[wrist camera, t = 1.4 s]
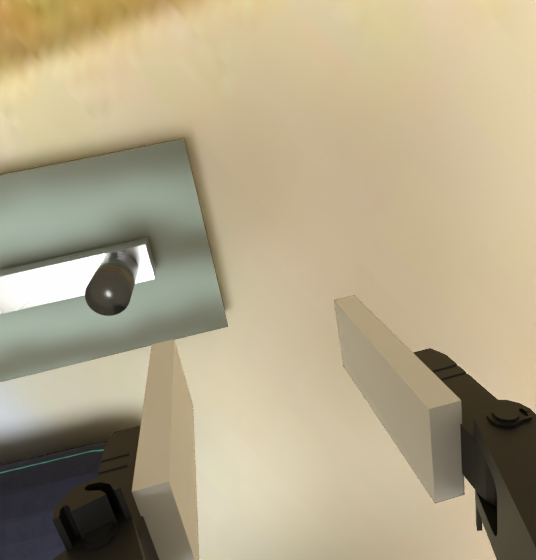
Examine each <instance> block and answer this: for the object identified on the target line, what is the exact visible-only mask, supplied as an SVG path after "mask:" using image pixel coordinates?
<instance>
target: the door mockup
mask: <svg viewBox="0 0 536 560" xmlns="http://www.w3.org/2000/svg"><path fill="white" fill-rule="evenodd" d="M143 238H148V242H149V245H150V249H151V253H152V256H153V260H154V263H155V267H156V275H155V279H152V280H148V281H143V282H139V283H135V286H134V289H133V292H132V296H131V299H130V302H129V305H128V306H127V308H126V309H125V310H124V311H122V312H121V313H119V314H117V315H113V316H105V315H100V314H98V313H96V312H94V311H93V310H92V309H91V308H90V307H89V306H88V304H87V302H86V300H85V295H82V296H78V297H73V298H69V299H64V300H60V301H56V302H51V303H47V304H43V305H38V306H34V307H29V308H25V309H21V310H16V311H12V312H8V313H3V314H0V382H3V381H7V380H11V379H15V378H19V377H23V376H27V375H32V374H36V373H40V372H44V371H48V370H52V369H56V368H60V367H64V366H68V365H73V364H77V363H81V362H85V361H89V360H93V359H97V358H101V357H105V356H109V355H114V354H118V353H122V352H126V351H130V350H134V349H138V348H142V347H146V346H150V345H152V344H156V343H160V342H164V341H169V340H173V339H174V340H175V339H179V338H183V337H187V336H191V335H195V334H200V333H204V332H208V331H212V330H216V329H220V328H224V327H228V324H227V319H226V315H225V310H224V306H223V302H222V298H221V294H220V289H219V285H218V281H217V277H216V272H215V268H214V264H213V260H212V255H211V251H210V247H209V243H208V238H207V234H206V230H205V226H204V222H203V217H202V213H201V209H200V205H199V200H198V196H197V192H196V188H195V183H194V179H193V175H192V171H191V166H190V162H189V158H188V154H187V149H186V145H185V141H184V139H179V140H174V141H169V142H164V143H159V144H153V145H148V146H143V147H138V148H133V149H128V150H123V151H118V152H113V153H108V154H103V155H98V156H92V157H87V158H82V159H77V160H72V161H67V162H62V163H57V164H52V165H47V166H42V167H37V168H31V169H26V170H21V171H16V172H11V173H6V174H1V175H0V270H1V269H6V268H11V267H15V266H20V265H24V264H29V263H33V262H38V261H43V260H47V259H52V258H56V257H61V256H65V255H70V254H75V253H79V252H84V251H88V250H93V249H98V248H102V247H107V246H111V245H116V244H120V243H125V242H130V241H134V240H139V239H143Z"/></svg>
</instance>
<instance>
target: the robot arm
mask: <svg viewBox="0 0 536 560" xmlns="http://www.w3.org/2000/svg"><path fill="white" fill-rule="evenodd" d="M334 303H335V310H336V317H337V324H338V331H339V339H340V346H341V353H342V360H343V366H344V368H345V369H346V371H347V372H348V374H349V375H350V377H351V378H352V380H353V381H354V383H355V384H356V386H357V387H358V389H359V390H360V392H361V393H362V395H363V396H364V398H365V399H366V401H367V402H368V404H369V405H370V407H371V408H372V410H373V411H374V413H375V414H376V416H377V417H378V419H379V420H380V422H381V423H382V425H383V426H384V428H385V429H386V431H387V432H388V434H389V435H390V437H391V438H392V440H393V441H394V443H395V444H396V446H397V447H398V449H399V450H400V452H401V453H402V455H403V456H404V458H405V459H406V461H407V462H408V463H409V465H410V466H411V468H412V469H413V471H414V472H415V474H416V475H417V477H418V478H419V480H420V481H421V483H422V484H423V486H424V487H425V489H426V490H427V492H428V493H429V495H430V496H431V498H432V499H433V501H434V502H435V503H438V502H441V501H444V500H448V499H451V498H454V497H458V496H461V495H464V476H465V477H466V479H467V480H468V481H469V482H470V484H471V485H472V486H473V487H474V489H475V500H476V526H477V531H478V530H482V522H483V525H484V527H485V530H486V532H487V535H488V538H489V540H490V543H491V545H492V548H493V551H494V553H495V556H496V558H497V560H536V414H535V413H534V412H533V411H532V410H531V409H530V408H528V407H526V406H524V405H522V404H520V403H516V402H512V401H508V400H497V399H496V398H495V397H494V396H493V395H491V394H490V393H489V392H488V391H487V390H486V389H485V388H483V387H482V386H481V385H480V384H479V383H478V382H477V381H475V380H474V379H473V378H472V377H471V376H470V375H468V374H466V372H465V371H464V370H463V369H462V368H460V367H459V366H457V364H456V363H455V362H454V361H452V360H451V359H450V358H449V357H448V356H447V355H445V354H443V353H440V352H438V351H435V350H433V349H426V350H422V351H418V352H414V353H413V352H412V351H411V350H410V349H409V348H408V347H407V346H406V345H405V344H404V343H403V342H402V341H401V340H400V339H398V338H397V337H396V336H395V335H394V334H393V333H392V332H391V331H390V330H389V329H388V328H387V327H386V326H385V325H384V324H383V323H382V322H381V321H380V320H379V319H378V318H377V317H376V316H375V315H374V314H373V313H372V312H371V311H370V310H369V309H368V308H367V307H366V306H365V305H364V304H363V303H362V302H361V301H360V300H359V299H358V298H357V297H356V296H355V295H353V296H349V297H345V298H341V299H337V300H334ZM98 474H99V476H97V478H96V479H93V480H90V481H87V482H84V483H83V484H81V485H79V486H78V487H76V488H74V489H72V490H71V491H70V492H69V493H68V494H67V495H66V496H65V497H64V498H62V499H61V501H60V502H59V504H58V505H57V507H56V509H55V510H54V515H53V519H52V521H53V523H54V525H55V527H56V529H57V531H58V534H59V536H60V538H61V540H62V542H63V544H64V546H65V548H66V550H65V551H64V552H62V553H61V554H60V555H58V556H57V557H55V558H53V559H52V560H199V543H198V517H197V492H196V467H195V441H194V416H193V403H192V400H191V396H190V393H189V389H188V386H187V382H186V379H185V375H184V372H183V368H182V365H181V362H180V358H179V355H178V351H177V348H176V344H175V341H174V339H173V340H169V341H164V342H160V343H156V344H152V347H151V354H150V362H149V369H148V376H147V383H146V391H145V398H144V405H143V412H142V420H141V426H137V427H133V428H129V429H125V430H122V431H118V432H115V433H114V434H113V436H112V437H111V438H110V440H109V441H108V442H107V444H106V445H105V447H104V451H103V455H102V459H101V464H100V467H99V471H98Z"/></svg>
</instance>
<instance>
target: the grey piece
mask: <svg viewBox="0 0 536 560" xmlns="http://www.w3.org/2000/svg"><path fill="white" fill-rule="evenodd" d="M155 275H156V267H155V263H154V260H153V256H152V253H151V249H150V245H149V242H148V238H143V239H139V240H134V241H130V242H125V243H120V244H116V245H111V246H107V247H102V248H98V249H93V250H88V251H84V252H79V253H75V254H70V255H65V256H61V257H56V258H52V259H47V260H43V261H38V262H33V263H29V264H24V265H20V266H15V267H11V268H6V269H1V270H0V314H3V313H8V312H12V311H16V310H21V309H25V308H29V307H34V306H38V305H43V304H47V303H51V302H56V301H60V300H64V299H69V298H73V297H78V296H82V295H85V300H86V302H87V304H88V306H89V307H90V308H91V309H92V310H93V311H94V312H96V313H98V314H100V315H105V316H113V315H117V314H119V313H121V312H122V311H124V310H125V309H126V308H127V306H128V305H129V302H130V299H131V296H132V292H133V289H134V286H135V283H139V282H143V281H148V280H152V279H155Z"/></svg>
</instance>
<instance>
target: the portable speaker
mask: <svg viewBox="0 0 536 560" xmlns="http://www.w3.org/2000/svg"><path fill="white" fill-rule="evenodd" d="M106 444H107V442H104V443H96V444H91V445H87V446H83V447H79V448H75V449H70V450H66V451H62V452H58V453H54V454H49V455H45V456H41V457H37V458H33V459H28V460H24V461H20V462H16V463H12V464H8V465H3V466H0V560H52V559H53V558H55V557H57V556H58V555H60V554H61V553H62V552H64V551H65V550H66V548H65V546H64V544H63V542H62V540H61V538H60V536H59V534H58V531H57V529H56V527H55V525H54V523H53V521H52V519H53V515H54V510H55V509H56V507H57V505H58V504H59V502H60V501H61V499H62V498H64V497H65V496H66V495H67V494H68V493H69V492H70V491H71V490H72V489H74V488H76V487H78V486H79V485H81V484H83V483H84V482H87V481H90V480H93V479H96V478H97V476H99V474H98V471H99V467H100V464H101V459H102V455H103V451H104V447H105V445H106Z"/></svg>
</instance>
